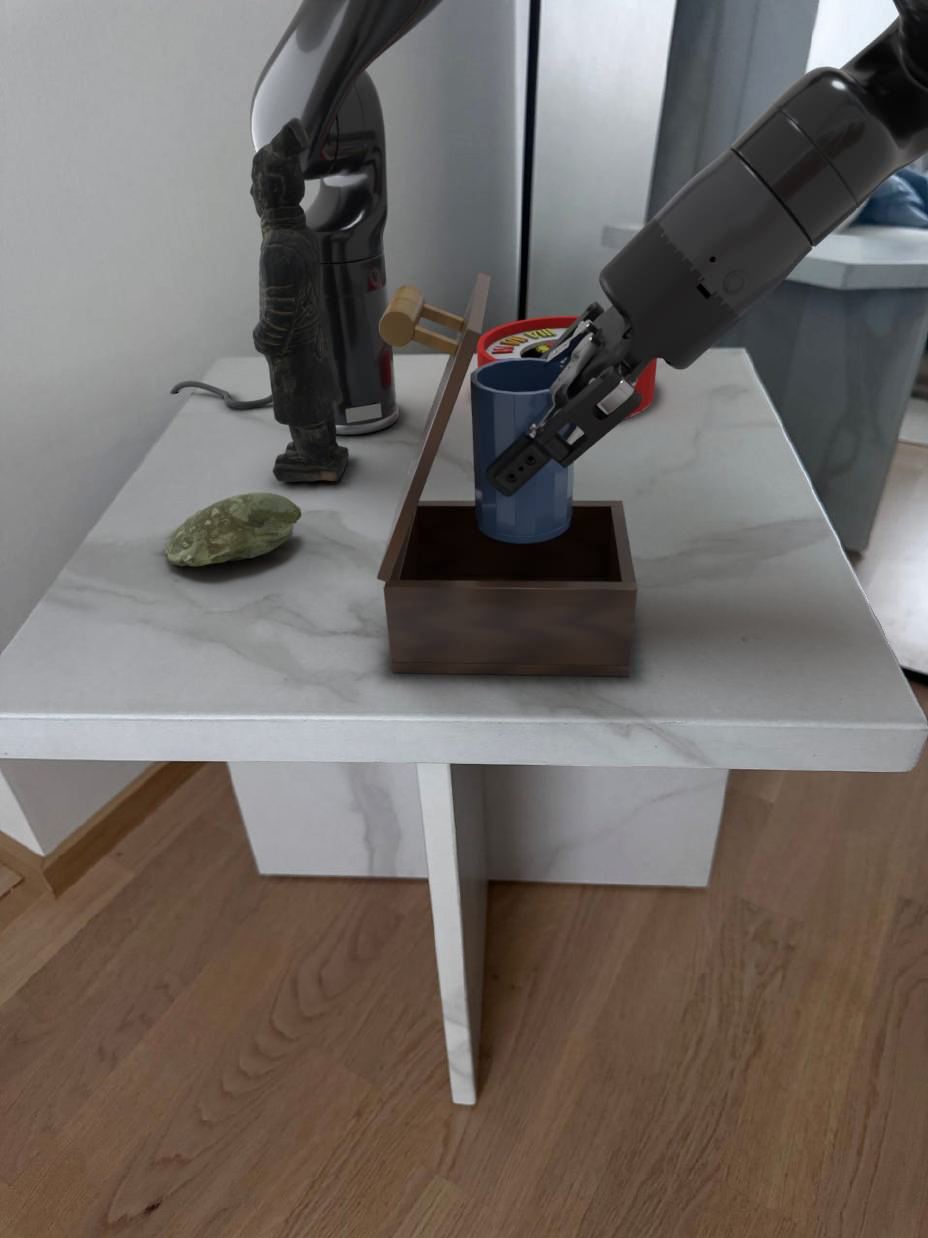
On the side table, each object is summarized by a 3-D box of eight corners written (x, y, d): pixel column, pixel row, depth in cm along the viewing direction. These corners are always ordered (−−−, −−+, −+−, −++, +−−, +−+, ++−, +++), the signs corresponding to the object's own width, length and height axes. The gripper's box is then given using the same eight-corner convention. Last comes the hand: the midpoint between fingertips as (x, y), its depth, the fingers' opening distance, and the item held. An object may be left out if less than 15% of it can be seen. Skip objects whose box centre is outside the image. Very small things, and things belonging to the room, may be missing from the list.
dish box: (616, 580, 66) (622, 500, 63) (629, 676, 57) (637, 589, 53) (413, 578, 68) (406, 500, 64) (392, 673, 58) (383, 587, 54)
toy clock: (493, 314, 106) (660, 317, 102) (494, 361, 109) (655, 366, 105) (460, 369, 90) (656, 376, 86) (462, 423, 93) (651, 431, 89)
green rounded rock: (162, 510, 75) (227, 429, 71) (235, 545, 79) (300, 471, 75) (161, 590, 68) (232, 506, 64) (241, 624, 73) (313, 547, 68)
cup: (461, 510, 60) (454, 367, 54) (545, 491, 62) (546, 351, 56) (499, 552, 55) (495, 401, 49) (588, 530, 57) (595, 382, 51)
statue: (292, 451, 89) (237, 114, 71) (357, 450, 88) (318, 111, 71) (268, 495, 80) (200, 128, 63) (340, 495, 80) (291, 124, 63)
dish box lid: (491, 276, 54) (411, 244, 53) (480, 333, 45) (383, 296, 44) (411, 496, 64) (342, 472, 63) (388, 583, 54) (306, 555, 53)
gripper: (643, 190, 53) (460, 383, 60) (678, 242, 41) (445, 473, 49) (721, 278, 55) (535, 452, 63) (774, 351, 44) (539, 553, 51)
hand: (497, 460), depth 56 cm, fingers closed on cup, 6 cm apart
